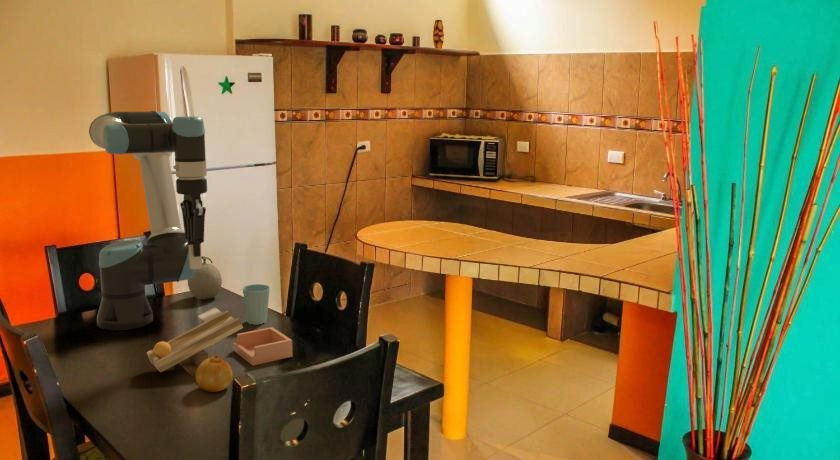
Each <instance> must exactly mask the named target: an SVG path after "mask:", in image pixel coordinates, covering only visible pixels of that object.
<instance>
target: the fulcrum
mask: <svg viewBox="0 0 840 460" xmlns="http://www.w3.org/2000/svg"><path fill="white" fill-rule="evenodd" d="M208 358H210V357H209V353H208V352H207V351H206V350H205V349H203V350H201V351H200V352H198V353H196V354H194V355H192V356H190V357H188V358H187V359H185V360H183V361H181V362H179V363H177V365H180V367H182V369H183V370H184V371H186V373H188V375H190V376H191V377H196V376H195V375H196V371H197V369H198V367H199V365H200V364H201V363H202V362H203V361H205V360H206V359H208Z"/></svg>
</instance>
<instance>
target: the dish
mask: <svg viewBox="0 0 840 460" xmlns="http://www.w3.org/2000/svg"><path fill="white" fill-rule="evenodd" d="M233 351H234V352H235V353H236V354H237V355H238V356H240V357H241V358H242V359H243V360H245V361H246V362H248V364H250V365H251V366H253V367H254V366H256V365H257V366H258V365H262V364H266V363H271V362H275V361H278V360H279V361H280V360H283V359H288V358H293V340H292V339H291V338H290V337H288V336H286V335H285V334H284V333H282V332H280V331H279V330H278V329H276V328H274V327H273V326H271V327H265V328H260V329H254V330H250V331H244V332H240V333H236V342H233Z"/></svg>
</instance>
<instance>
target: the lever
mask: <svg viewBox="0 0 840 460" xmlns="http://www.w3.org/2000/svg"><path fill="white" fill-rule="evenodd" d="M197 318H198V320H199V321H200V322H201V324H198V325H197V326H195V327H193V328H191V329H189V330H187V331H185V332H183V333H181V334H179V335H177V336H176V337H173V338H171V339H169V340H168V341H166V342H167V343H168V344H169V345H170V347H171V352H170V354H169V355H167V356H165V357H163V358H158V357H157V356H156V355H155V354H154V352H153V349H154V348H153V349H150V350H148V351H147V352H146V356H147V357H148V359H149V361H150V363H151V365H153V366H154V367H155V368H156V370H158V371H159V372H160V373H162V372H164V371H166V370H168V369H170V368H172V367H173V366H176V365H178V363H179V362H181V361H183V360H185V359H187V358H188V357H190V356H192V355H194V354H196V353H198V352H200V351H201V350H205V349H207V348H209V347H211V346H212V345H214V344H216V343H218V342H220V341H222V340H224V339H225V338H227V337H229V336H230V335H232V334H235V333H237V332H238V331H240V330H242V329H243V328H244V327H243V323H242V322H241V319H240V318H239V317H237V318H234V317H233V316H232V315H231V313H230V311H229V310H225V311H221V310H219V309H218V308H217V307H216V306H215V307H212V308H211V309H208V310H207V311H205V312H203V313H200V314H198V315H197Z"/></svg>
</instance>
